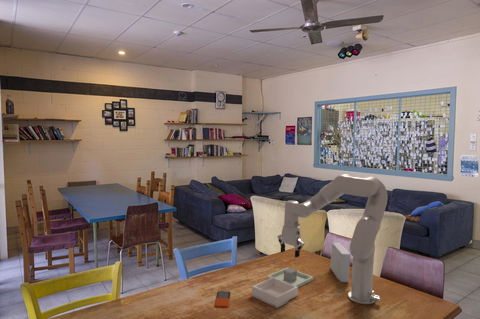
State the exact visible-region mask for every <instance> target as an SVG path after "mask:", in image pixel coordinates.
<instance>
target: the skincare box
mask: <svg viewBox="0 0 480 319" xmlns="http://www.w3.org/2000/svg"><path fill="white" fill-rule="evenodd" d="M351 256H352V255H351V253H350V251H348V250H347V248H345V247H344V246H343V244H342V243H341V242H331V253H330V265H329V267H330V270H331V271H332V272H333V274H334V275H335V277H336V279H337V280H338V281H340V283H349V281H350V267H351Z"/></svg>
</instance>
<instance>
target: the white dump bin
mask: <svg viewBox="0 0 480 319" xmlns="http://www.w3.org/2000/svg"><path fill="white" fill-rule="evenodd" d="M251 296H252V297H253V298H256V299H257V300H260V301H261V302H263V303H266V304H267V305H270V306H272V307H274V308H276V309H279V308H281V307H282V306H284V305H285V304H288V303H289V302H290V301H291V300H292V299H294V298H296V297H298V296H299V288H298V287H297V286H294V285H292V284H289V283H287V282H284V281H282V280H280V279H277V278H275V277H272V278H270V279H267V278H266V279H265V280H263V281H260V282H259V283H256V284H254V285H252V287H251Z"/></svg>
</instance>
